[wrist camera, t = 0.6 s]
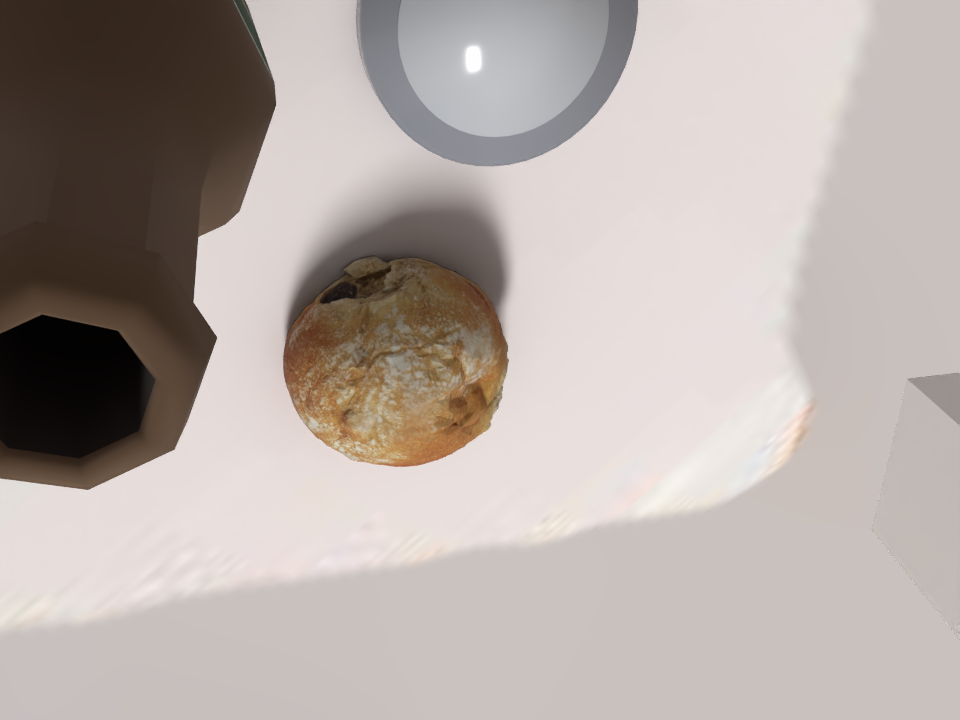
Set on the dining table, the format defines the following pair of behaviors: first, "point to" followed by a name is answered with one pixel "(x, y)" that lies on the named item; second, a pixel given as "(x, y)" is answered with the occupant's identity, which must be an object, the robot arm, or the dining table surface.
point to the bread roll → (397, 362)
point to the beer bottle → (114, 220)
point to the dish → (494, 70)
